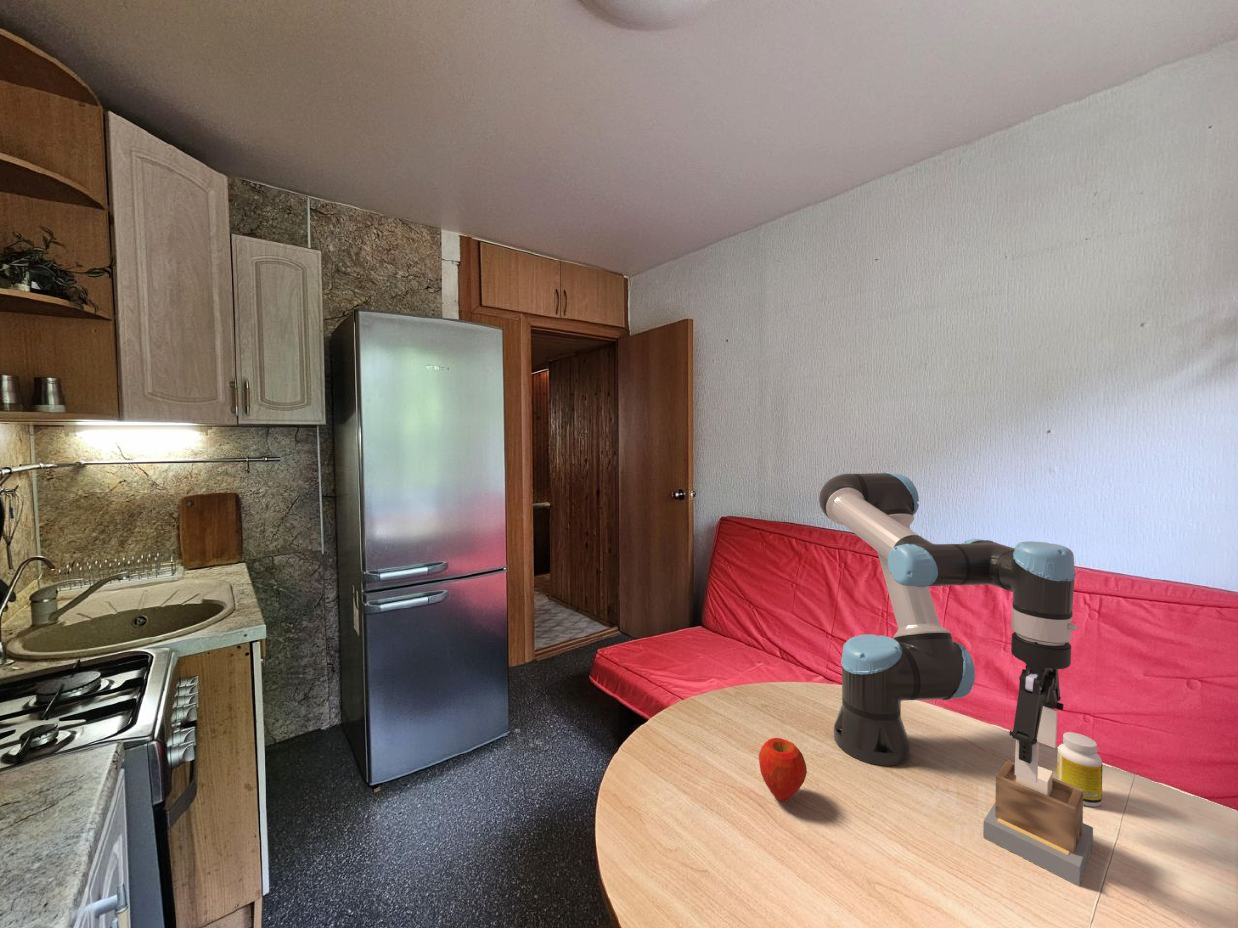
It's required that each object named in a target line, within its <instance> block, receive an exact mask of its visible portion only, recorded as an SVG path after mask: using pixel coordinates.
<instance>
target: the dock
mask: <svg viewBox="0 0 1238 928" xmlns="http://www.w3.org/2000/svg"><path fill="white" fill-rule="evenodd" d="M982 834H983V836H982V837H983V839H985V840H987V841H989V842H991V843H992V844H995V845H996V846H999V847H1000V848H1002V849H1005V850H1007V851H1009V852H1010V853H1012V854H1015V855H1017V856H1019V857H1021V858H1022V859H1025V860H1027V861H1028V862H1031V864H1032V863H1033V864H1035V865H1036V866H1038V867H1041V868H1042V869H1044V870H1046V871H1048V872H1050V873H1052V874H1054V875H1055V876H1058V877H1059V878H1061V879H1064V880H1065V881H1068V882H1070V883H1072V884H1073V885H1076V886H1078V887H1080V885H1081V883H1082V879H1083V876H1084V874H1085V870H1086V866H1087V864H1088V860H1089V857H1090V854H1091V852H1092V848H1093V846H1094V845H1093V844H1094V827H1093V826H1091V825H1089V824H1086V823H1084V822H1083V831H1082V834H1081V836H1079V842H1078V845H1077V844H1076V850H1075V852H1074V854H1073V853H1071V852H1069V851H1067V850H1065V849H1063V848H1061V847H1059V846H1057V845H1054V844H1052V843H1050V842H1048V841H1046V840H1044V839H1042V838H1040V837H1038V836H1036V835H1033V834H1031V833H1029V832H1027V831H1025V830H1023V829H1021V828H1019V827H1017V826H1014V825H1012V824H1010V823H1008V822H1006V821H1004V820H1002V819H1000V818H998V817H995V802H994V803H993V805H992V807H991V808H990V810H989V811H988V813H987V815H985V817H984V819H983V832H982Z"/></svg>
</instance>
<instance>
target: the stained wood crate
mask: <svg viewBox="0 0 1238 928" xmlns="http://www.w3.org/2000/svg"><path fill="white" fill-rule="evenodd" d="M994 800H995V802H994V803H995V817H998V818H1000V819H1002V820H1004V821H1006V822H1008V823H1010V824H1012V825H1014V826H1017V827H1019V828H1021V829H1023V830H1025V831H1027V832H1029V833H1031V834H1033V835H1036V836H1038V837H1040V838H1042V839H1044V840H1046V841H1048V842H1050V843H1052V844H1054V845H1057V846H1059V847H1061V848H1063V849H1065V850H1067V851H1069V852H1071V853H1073V854H1074V852H1075V850H1076V844H1077V845H1078V842H1079V836H1081V834H1082V831H1083V823H1084V821H1083V820H1084V805H1083V789H1080V788H1078V787H1075V786H1073V785H1070V784H1068V783H1065V782H1063V781H1060V780H1057V778H1054V777H1053V778H1052V791H1051V793H1050V795H1049V796H1047V795H1045V794H1042V793H1040V792H1038V791H1035V790H1033V789H1030V788H1028V787H1026V786H1023V785H1021V784H1018V783H1016V775H1015V761H1012V760H1008V759H1007V760H1006V761H1005V762H1004V764H1003V765H1002V767H1001V768H1000V769H999V772H998V773H997V774H996V775H995V799H994Z"/></svg>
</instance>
